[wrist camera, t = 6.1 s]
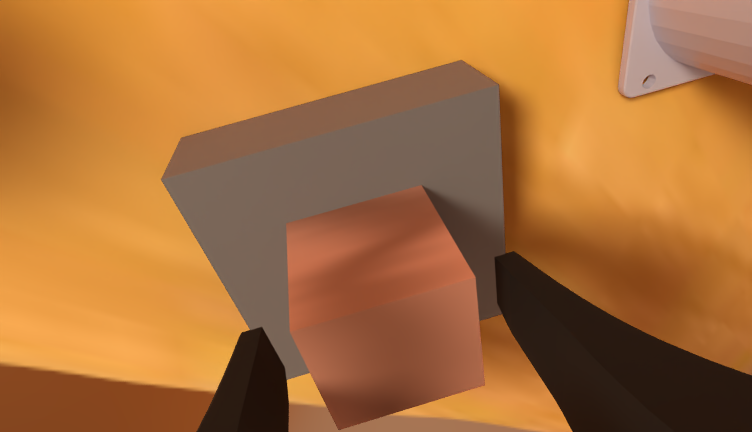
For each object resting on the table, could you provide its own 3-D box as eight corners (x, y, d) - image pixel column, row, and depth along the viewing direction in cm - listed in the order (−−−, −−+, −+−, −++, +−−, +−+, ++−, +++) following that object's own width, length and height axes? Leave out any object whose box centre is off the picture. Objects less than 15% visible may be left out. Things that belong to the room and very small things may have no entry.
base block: (461, 60, 15) (498, 84, 12) (479, 267, 20) (507, 312, 18) (181, 138, 14) (161, 179, 12) (280, 326, 20) (280, 381, 17)
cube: (421, 185, 14) (475, 277, 10) (437, 282, 16) (484, 384, 12) (286, 223, 13) (289, 332, 10) (324, 316, 16) (338, 430, 12)
